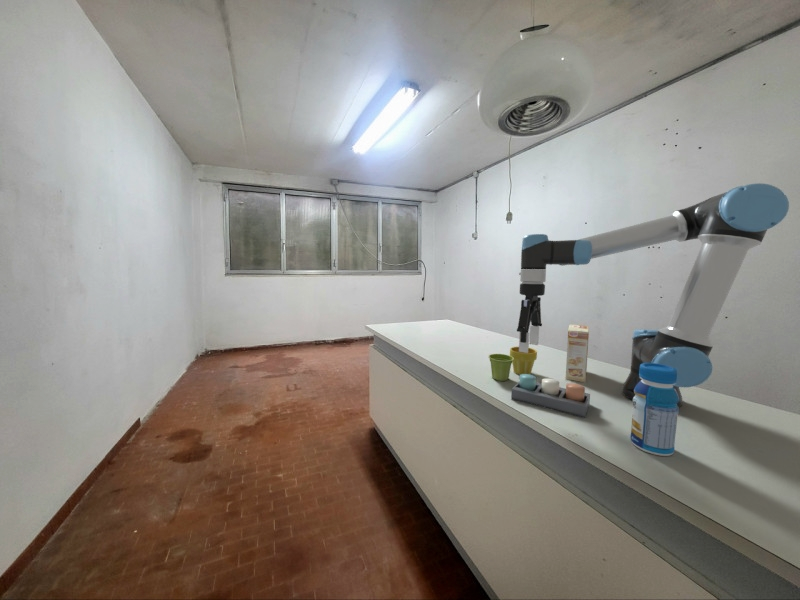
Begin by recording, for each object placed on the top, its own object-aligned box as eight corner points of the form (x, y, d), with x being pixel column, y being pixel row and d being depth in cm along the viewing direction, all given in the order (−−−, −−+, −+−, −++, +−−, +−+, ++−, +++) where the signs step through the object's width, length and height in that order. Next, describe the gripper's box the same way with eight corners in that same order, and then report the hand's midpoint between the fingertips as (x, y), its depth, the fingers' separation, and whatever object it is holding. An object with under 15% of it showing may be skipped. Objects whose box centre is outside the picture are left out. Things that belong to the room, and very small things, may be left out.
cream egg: (560, 393, 97) (560, 380, 97) (556, 399, 93) (557, 385, 93) (543, 389, 100) (543, 377, 100) (539, 394, 97) (540, 381, 96)
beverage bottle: (662, 461, 67) (670, 375, 65) (621, 441, 75) (627, 364, 73) (682, 452, 70) (690, 369, 68) (641, 434, 78) (647, 359, 76)
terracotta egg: (585, 399, 93) (585, 385, 93) (582, 405, 89) (583, 390, 89) (566, 395, 96) (567, 382, 96) (564, 400, 92) (564, 386, 92)
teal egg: (537, 388, 102) (537, 376, 101) (533, 393, 98) (533, 380, 97) (521, 385, 105) (522, 372, 104) (517, 389, 101) (517, 377, 100)
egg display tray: (589, 404, 95) (590, 393, 95) (585, 418, 86) (585, 406, 86) (521, 388, 108) (521, 379, 108) (511, 399, 99) (511, 388, 99)
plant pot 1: (509, 374, 122) (510, 353, 121) (516, 383, 113) (516, 361, 112) (486, 373, 123) (486, 353, 122) (490, 382, 114) (491, 360, 113)
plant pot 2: (540, 377, 119) (541, 353, 118) (514, 377, 119) (515, 353, 118) (529, 368, 130) (530, 346, 128) (505, 368, 130) (506, 346, 129)
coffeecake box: (586, 382, 113) (589, 332, 111) (564, 379, 117) (567, 330, 115) (586, 371, 126) (588, 325, 124) (566, 368, 129) (569, 323, 127)
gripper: (530, 281, 109) (527, 339, 112) (508, 283, 91) (505, 353, 93) (553, 282, 105) (549, 342, 107) (534, 284, 86) (530, 358, 88)
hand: (528, 348), depth 100 cm, fingers open, 11 cm apart
